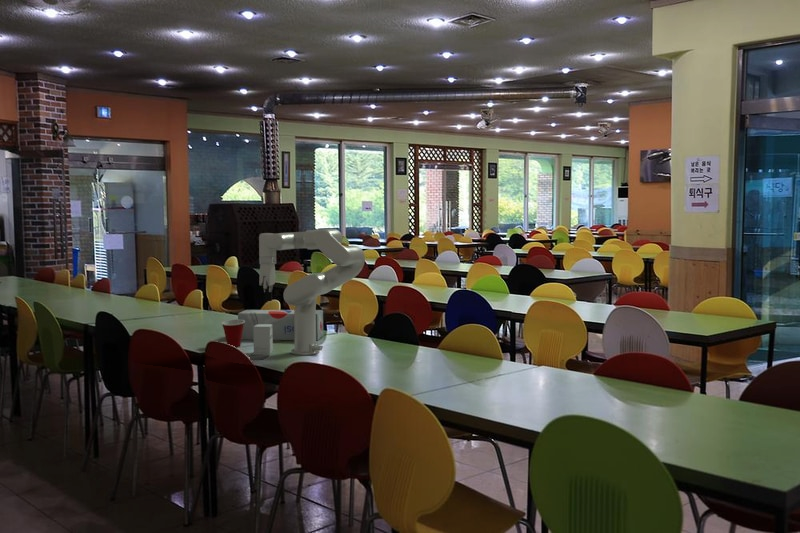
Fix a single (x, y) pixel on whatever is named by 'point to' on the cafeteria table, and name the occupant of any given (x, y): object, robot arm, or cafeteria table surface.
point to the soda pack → (276, 323)
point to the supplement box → (263, 339)
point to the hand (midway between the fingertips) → (268, 300)
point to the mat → (257, 357)
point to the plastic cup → (233, 331)
